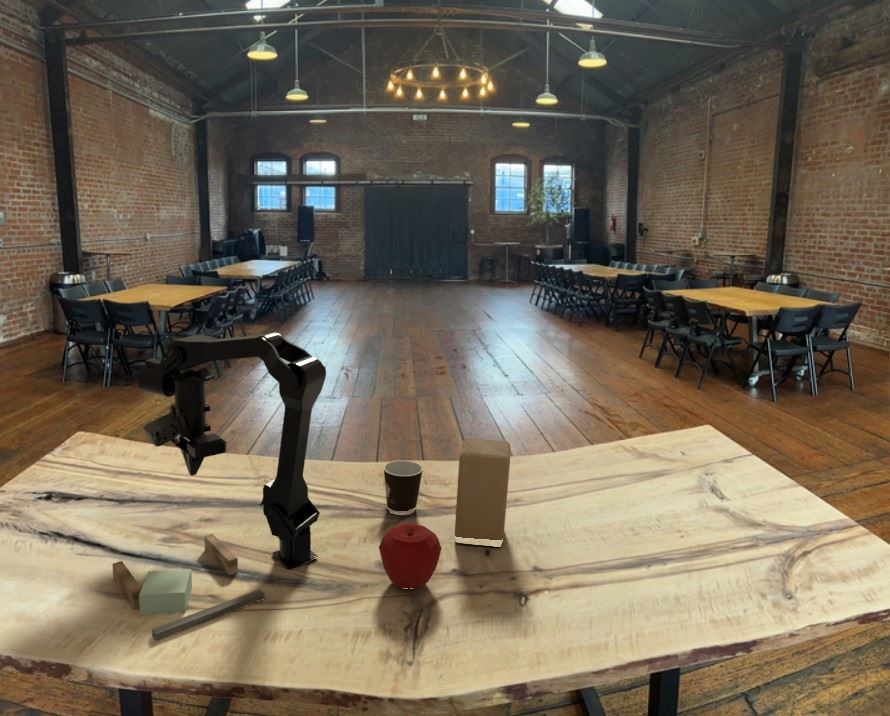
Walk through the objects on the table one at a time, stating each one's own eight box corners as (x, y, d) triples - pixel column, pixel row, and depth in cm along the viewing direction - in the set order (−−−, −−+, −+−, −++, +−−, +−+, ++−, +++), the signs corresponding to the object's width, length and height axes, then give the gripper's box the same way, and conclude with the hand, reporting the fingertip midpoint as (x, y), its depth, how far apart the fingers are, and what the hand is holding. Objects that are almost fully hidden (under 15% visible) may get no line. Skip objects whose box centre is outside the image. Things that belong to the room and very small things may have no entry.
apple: (449, 580, 125) (452, 523, 122) (417, 608, 116) (420, 547, 113) (400, 561, 131) (402, 506, 128) (366, 587, 122) (368, 528, 119)
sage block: (185, 613, 112) (184, 592, 111) (140, 616, 111) (139, 595, 110) (192, 589, 119) (191, 568, 118) (149, 592, 117) (148, 571, 116)
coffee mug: (419, 519, 147) (421, 477, 145) (380, 517, 147) (381, 474, 145) (422, 496, 159) (424, 456, 156) (385, 493, 159) (387, 454, 156)
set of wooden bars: (264, 599, 117) (264, 583, 116) (155, 641, 105) (154, 624, 104) (213, 547, 132) (212, 533, 131) (113, 578, 120) (112, 563, 119)
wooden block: (503, 526, 146) (510, 440, 142) (502, 550, 137) (510, 458, 132) (457, 522, 147) (463, 435, 142) (453, 545, 138) (459, 453, 133)
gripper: (129, 394, 132) (134, 468, 136) (167, 422, 119) (170, 503, 123) (186, 385, 140) (188, 456, 143) (227, 410, 127) (228, 487, 130)
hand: (192, 474), depth 135 cm, fingers closed
